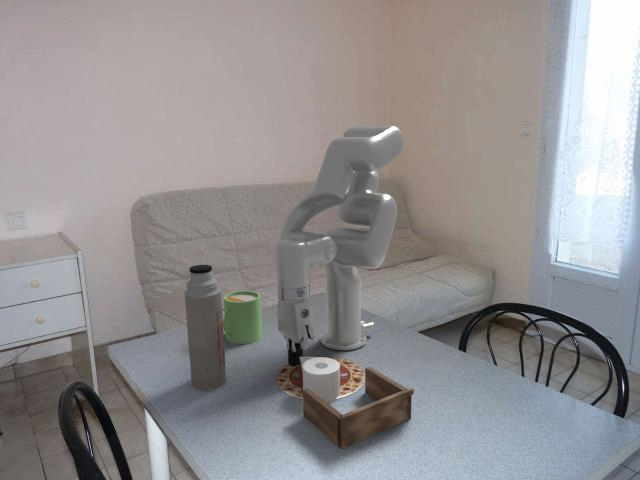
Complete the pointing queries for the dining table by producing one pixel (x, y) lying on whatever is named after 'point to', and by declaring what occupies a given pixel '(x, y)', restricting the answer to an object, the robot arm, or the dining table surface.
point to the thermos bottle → (205, 329)
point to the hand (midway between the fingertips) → (295, 364)
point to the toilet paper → (321, 377)
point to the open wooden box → (361, 411)
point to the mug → (242, 317)
